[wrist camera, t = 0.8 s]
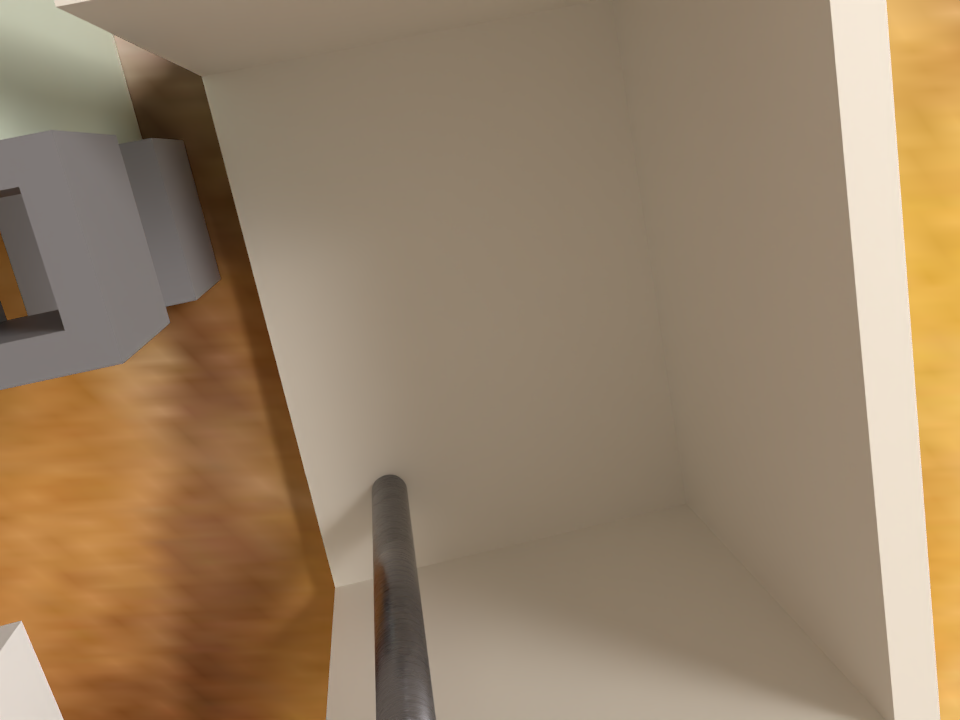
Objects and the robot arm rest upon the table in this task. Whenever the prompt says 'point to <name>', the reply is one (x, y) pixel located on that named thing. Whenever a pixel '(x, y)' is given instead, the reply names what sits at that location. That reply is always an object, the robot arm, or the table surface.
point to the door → (86, 203)
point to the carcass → (590, 339)
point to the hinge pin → (398, 609)
